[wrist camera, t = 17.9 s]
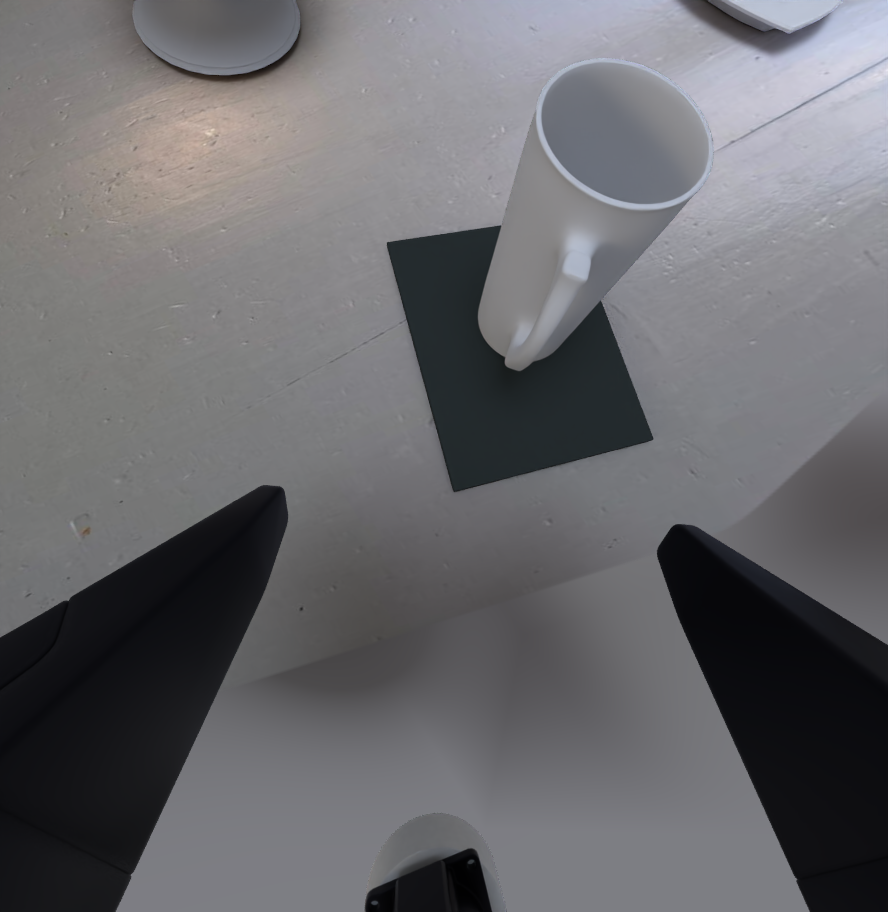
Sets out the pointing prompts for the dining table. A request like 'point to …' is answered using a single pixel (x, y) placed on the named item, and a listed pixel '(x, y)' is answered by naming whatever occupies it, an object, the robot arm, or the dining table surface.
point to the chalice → (218, 32)
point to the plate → (777, 12)
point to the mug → (588, 199)
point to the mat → (507, 372)
